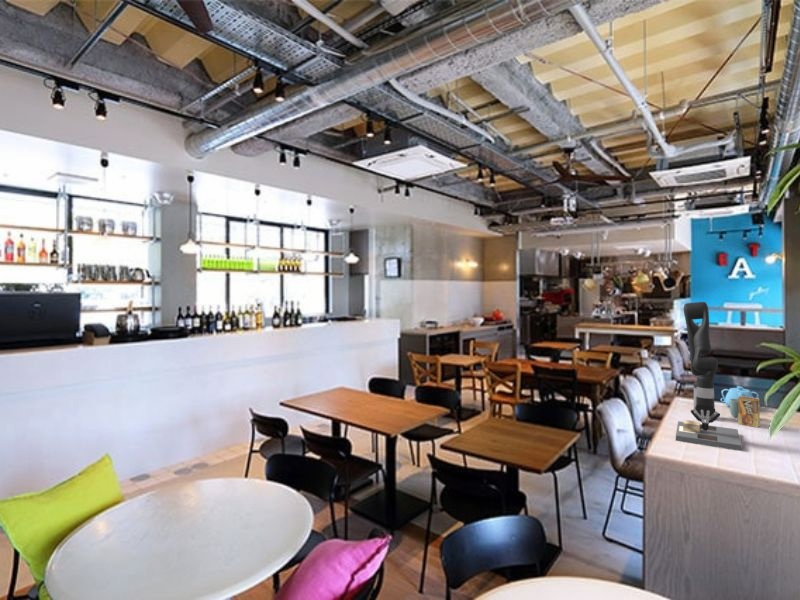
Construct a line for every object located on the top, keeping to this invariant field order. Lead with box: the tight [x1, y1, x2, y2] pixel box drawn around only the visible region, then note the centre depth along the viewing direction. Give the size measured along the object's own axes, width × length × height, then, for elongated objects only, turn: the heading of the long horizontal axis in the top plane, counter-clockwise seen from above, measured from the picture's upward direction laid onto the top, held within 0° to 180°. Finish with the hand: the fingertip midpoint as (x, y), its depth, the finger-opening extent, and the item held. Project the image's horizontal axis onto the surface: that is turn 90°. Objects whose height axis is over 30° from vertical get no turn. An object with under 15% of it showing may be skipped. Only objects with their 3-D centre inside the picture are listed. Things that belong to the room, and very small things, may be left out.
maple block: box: [682, 419, 701, 433], centre depth 227 cm, size 7×7×4 cm
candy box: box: [737, 396, 761, 428], centre depth 241 cm, size 9×4×15 cm, turn 44°
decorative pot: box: [720, 385, 760, 408], centre depth 275 cm, size 16×16×14 cm
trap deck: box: [675, 420, 743, 451], centre depth 223 cm, size 26×28×2 cm
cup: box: [729, 399, 738, 419], centre depth 256 cm, size 8×8×10 cm
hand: (705, 429), depth 223 cm, fingers closed
